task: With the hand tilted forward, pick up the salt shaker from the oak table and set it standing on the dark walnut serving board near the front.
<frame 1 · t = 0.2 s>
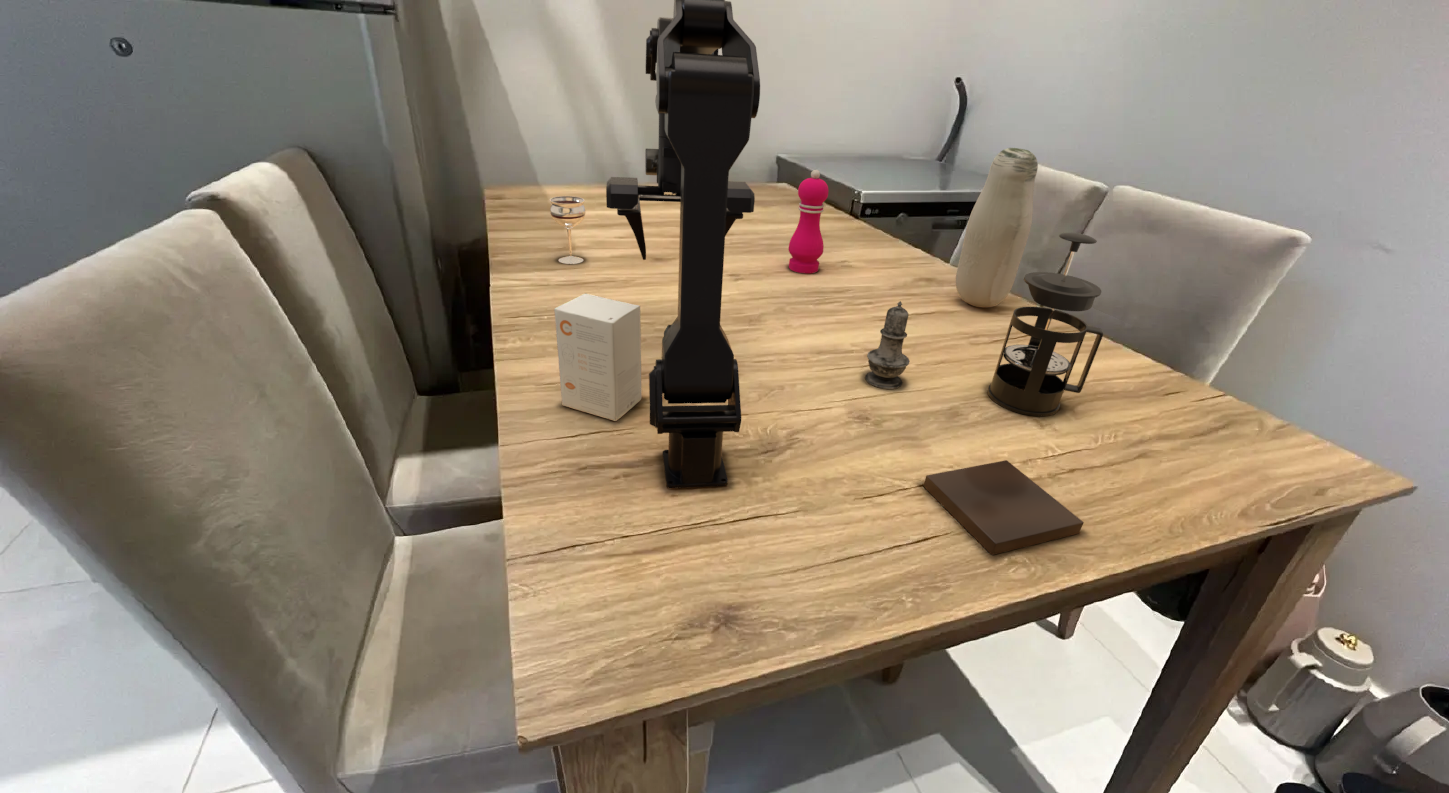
hand: (678, 259, 85), 15 cm above the table, tool pointing down, fingers open, 9 cm apart
pepper mill: (803, 269, 132), on the table
small box: (602, 404, 80), on the table
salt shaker: (883, 381, 90), on the table
french press: (1026, 401, 87), on the table
walnut board: (997, 508, 66), on the table
wineglass: (570, 261, 128), on the table
cream bottle: (976, 305, 120), on the table
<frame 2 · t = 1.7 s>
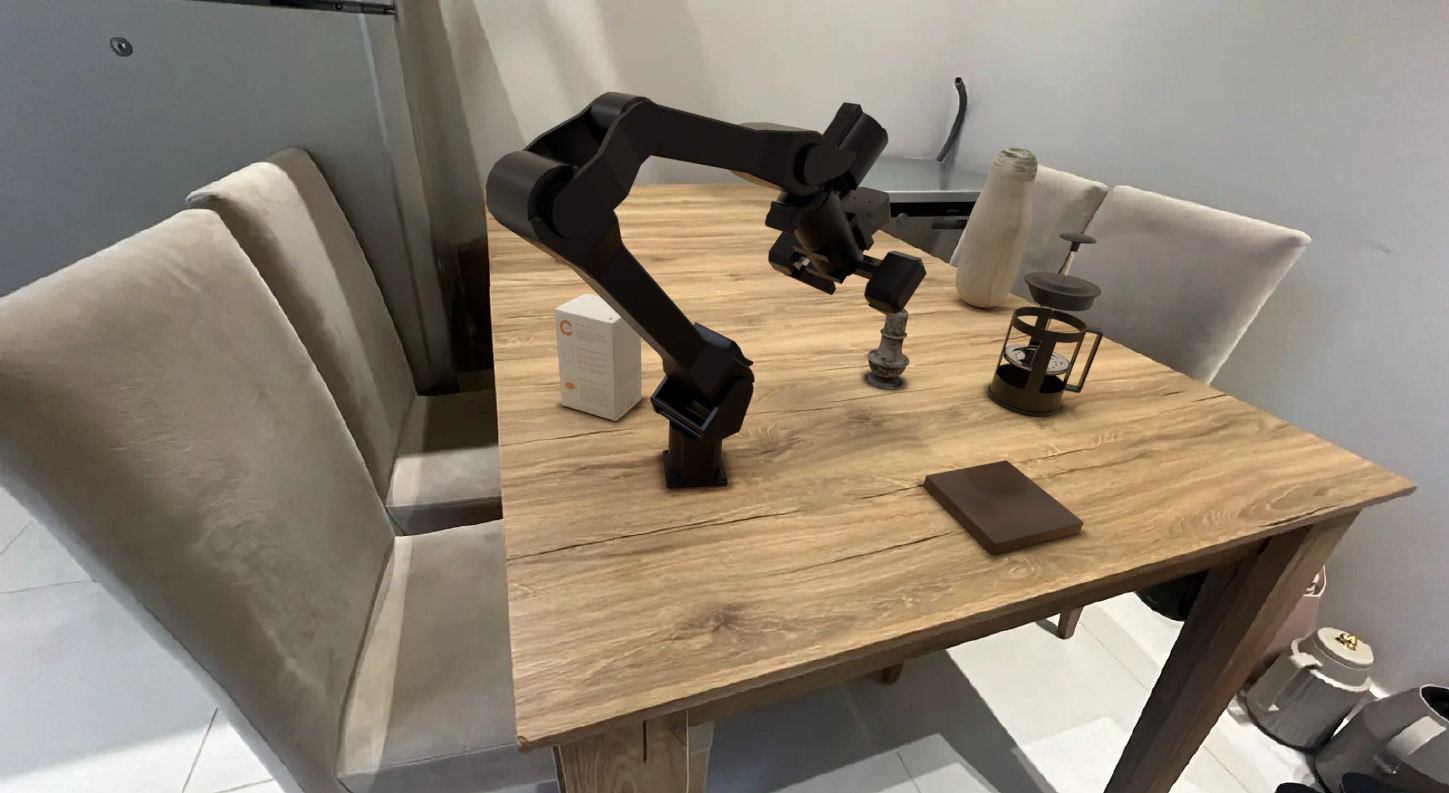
hand: (862, 302, 79), 13 cm above the table, tool tilted 45°, fingers open, 9 cm apart
nothing on the table moved.
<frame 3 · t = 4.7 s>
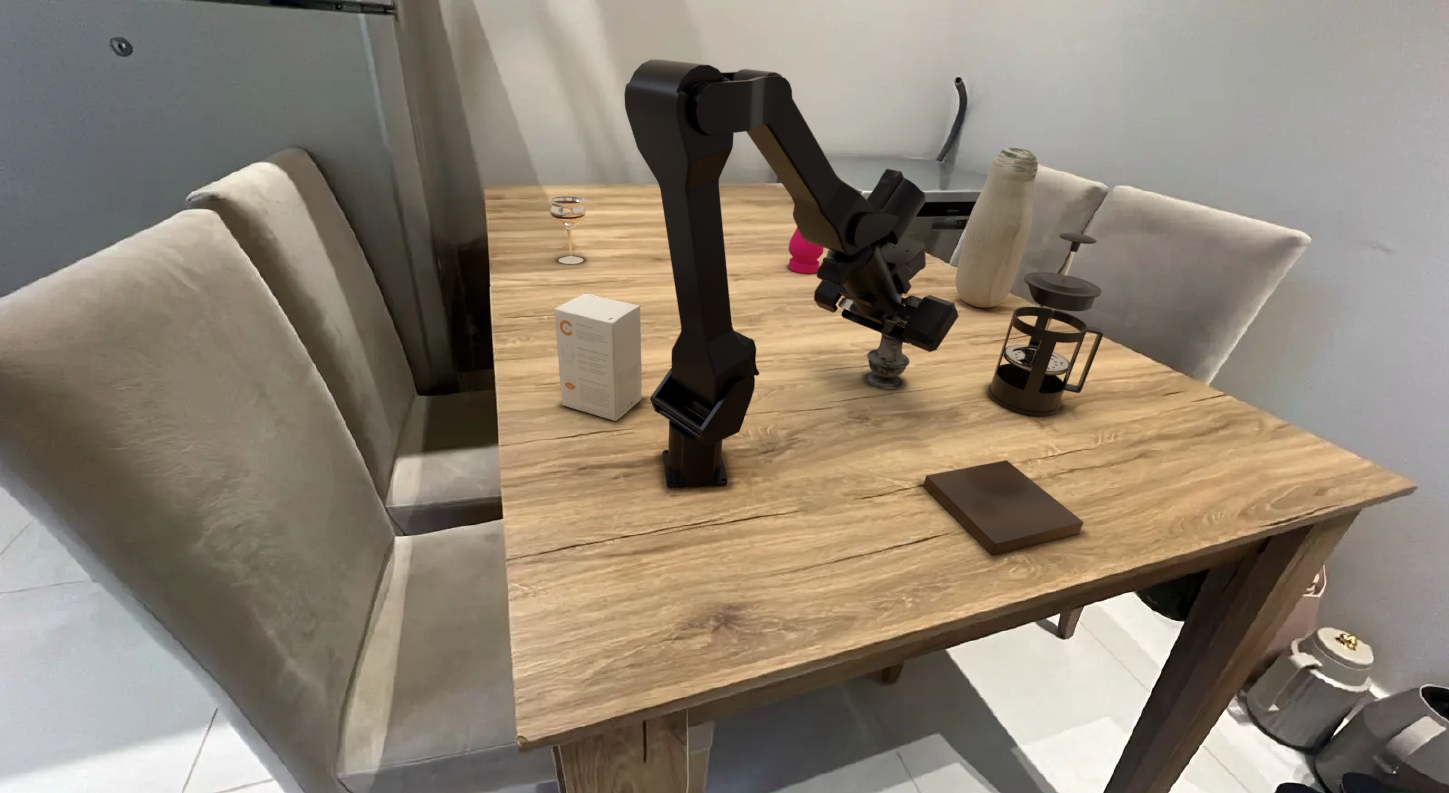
hand: (898, 336, 87), 7 cm above the table, tool tilted 45°, fingers closed on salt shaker, 3 cm apart
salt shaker: (883, 381, 90), on the table, touching gripper
everything else where it was.
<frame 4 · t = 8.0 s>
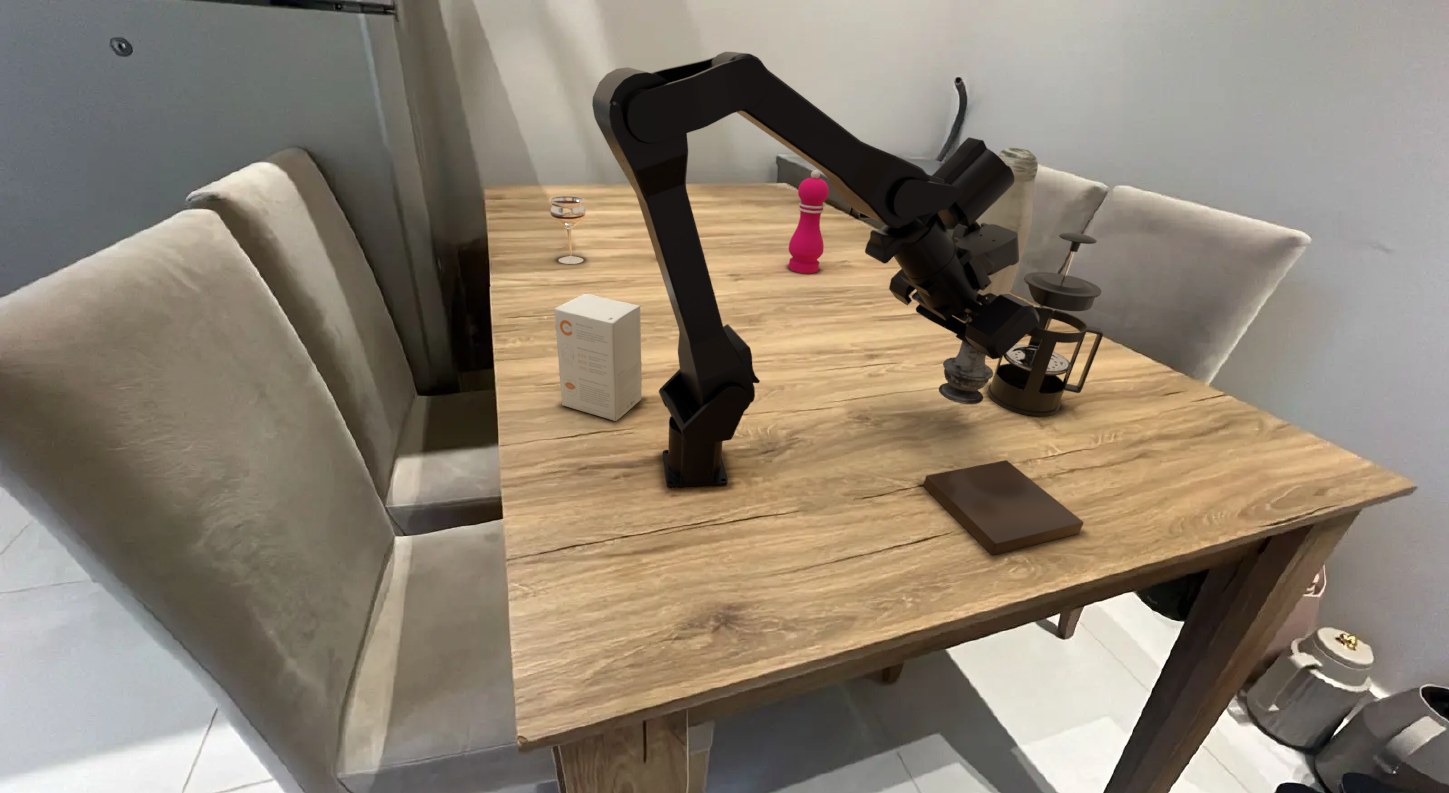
hand: (984, 344, 75), 11 cm above the table, tool tilted 45°, fingers closed on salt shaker, 3 cm apart
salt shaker: (960, 395, 78), point 5 cm above the table, touching gripper
everything else where it was.
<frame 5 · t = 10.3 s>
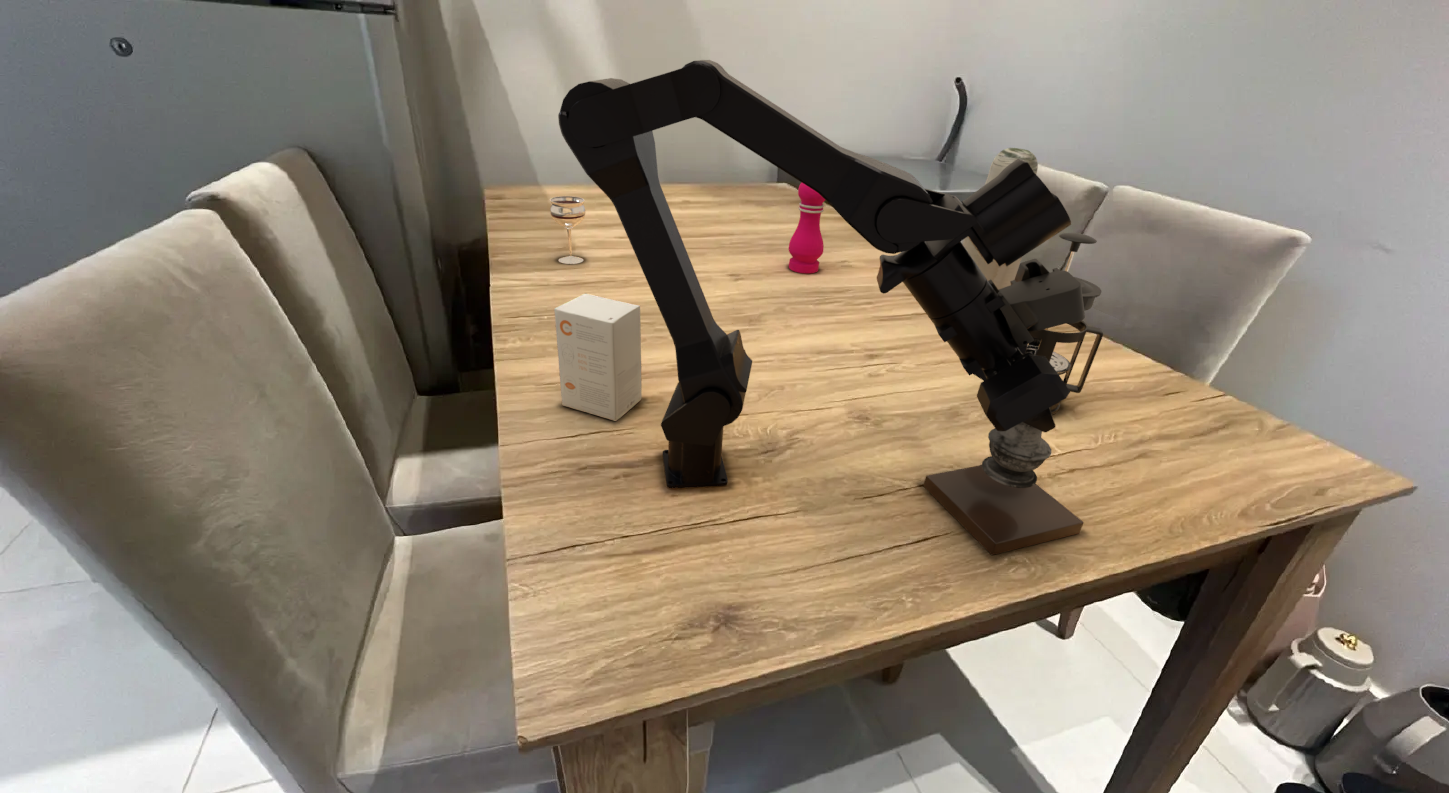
hand: (1043, 418, 60), 11 cm above the table, tool tilted 45°, fingers closed on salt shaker, 3 cm apart
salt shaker: (1008, 473, 64), point 5 cm above the table, touching gripper
everything else where it was.
when the fingers open (8 cm above the table, at t = 11.7 s): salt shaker stays where it is, resting on walnut board.
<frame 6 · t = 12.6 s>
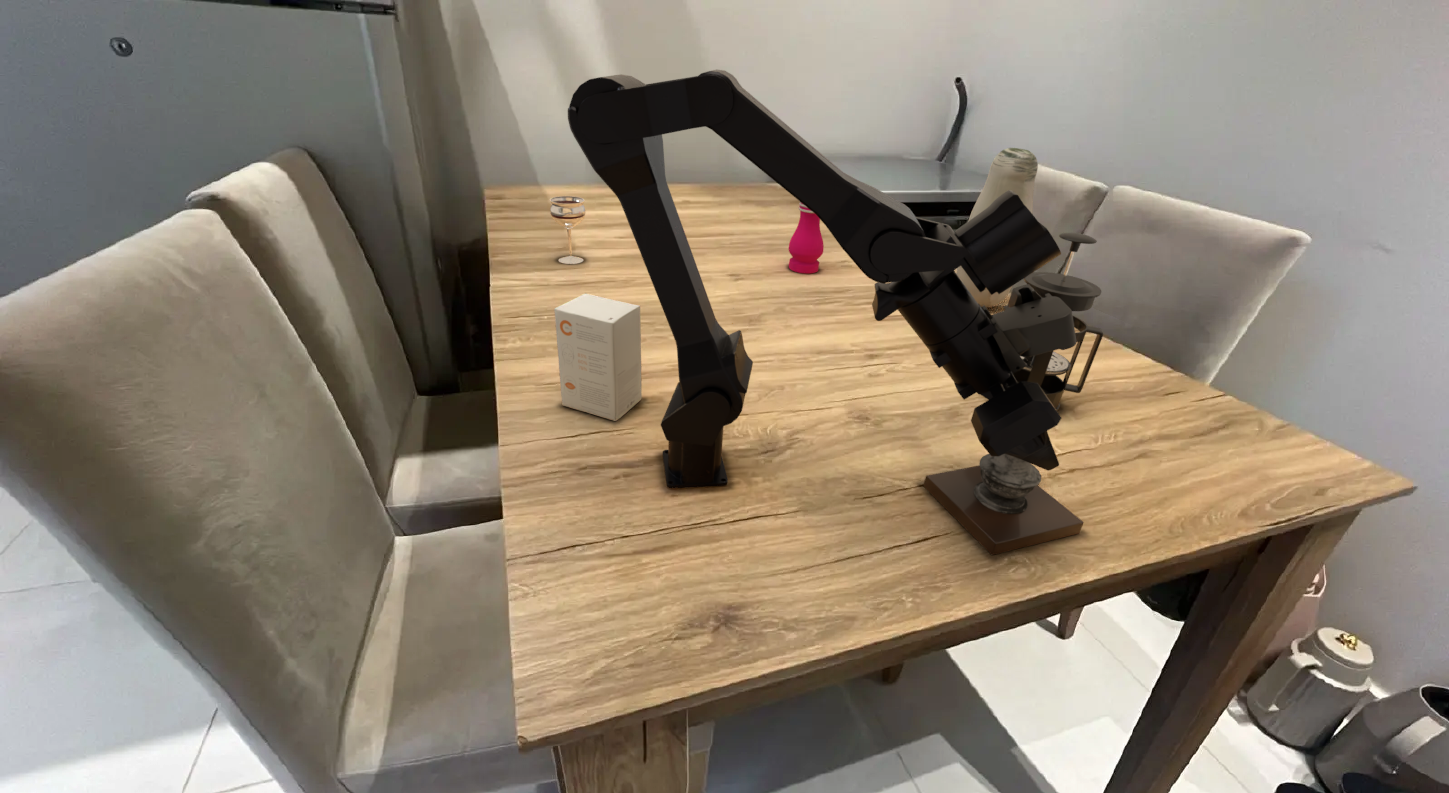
hand: (1038, 439, 61), 9 cm above the table, tool tilted 45°, fingers open, 9 cm apart
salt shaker: (999, 498, 65), point 1 cm above the table, touching walnut board
everything else where it was.
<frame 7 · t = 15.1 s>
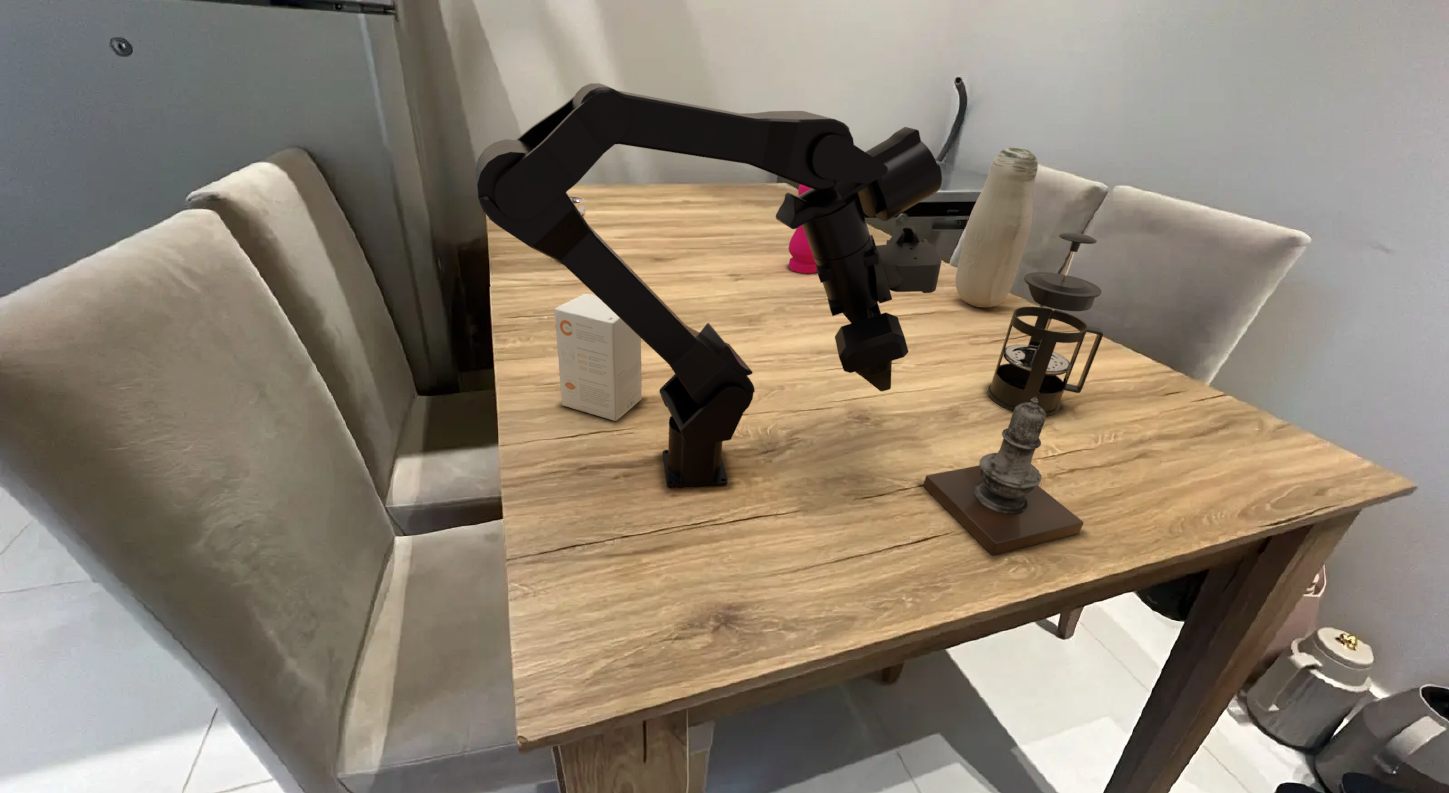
hand: (878, 363, 70), 11 cm above the table, tool tilted 30°, fingers open, 9 cm apart
nothing on the table moved.
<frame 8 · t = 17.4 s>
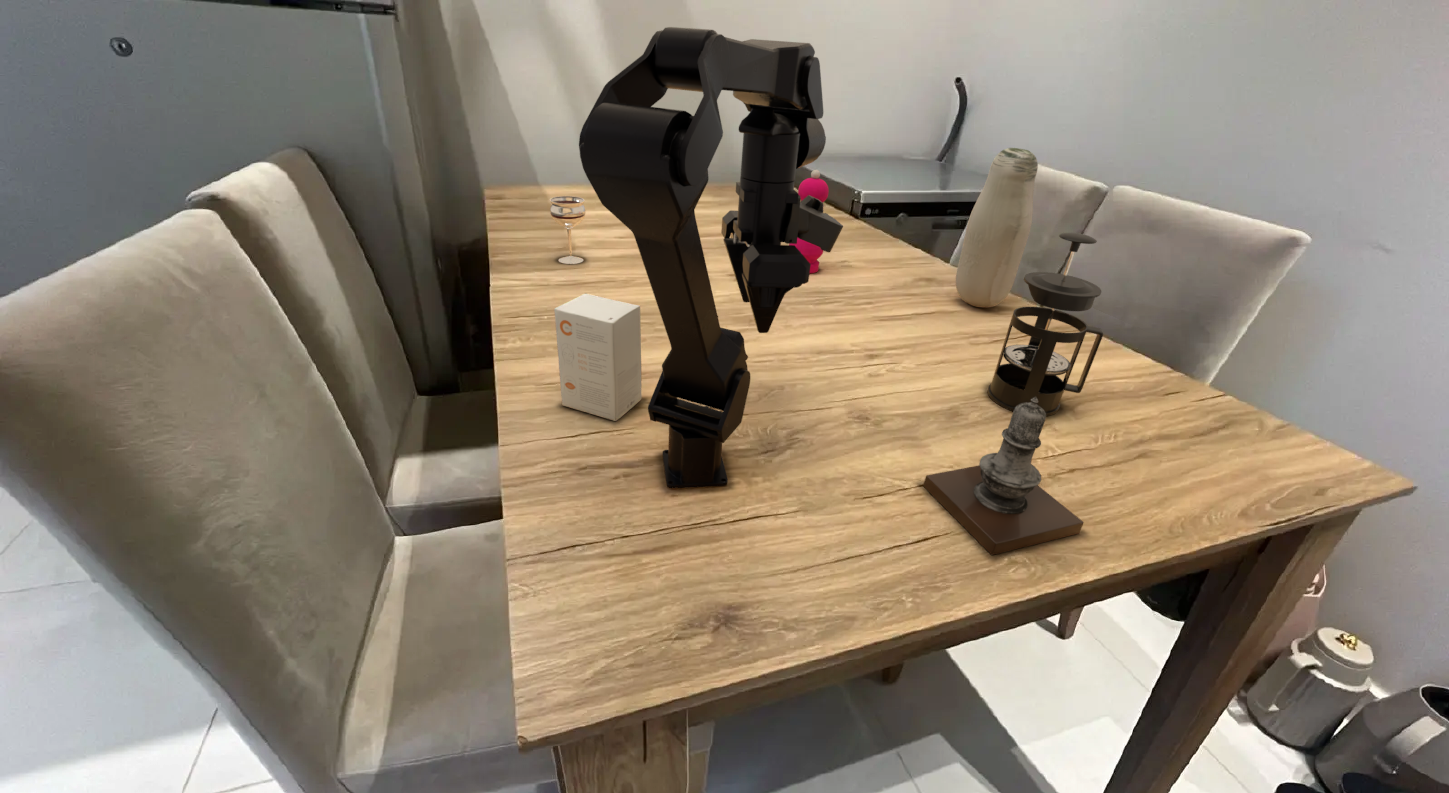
hand: (754, 316, 74), 13 cm above the table, tool pointing down, fingers open, 9 cm apart
nothing on the table moved.
at the end: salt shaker inside the target area on the walnut board (0.2 cm from its centre), point 1.3 cm above the walnut board's base; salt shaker tilted 0°; the gripper is holding nothing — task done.
